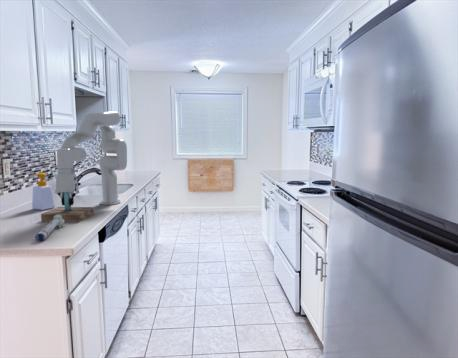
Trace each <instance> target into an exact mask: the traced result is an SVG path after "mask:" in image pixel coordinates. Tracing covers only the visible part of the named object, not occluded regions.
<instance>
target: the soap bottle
mask: <svg viewBox="0 0 458 358" xmlns="http://www.w3.org/2000/svg"><path fill="white" fill-rule="evenodd" d="M33 176H37V178H39V180H38V181H37V185H34V186H33V187H32V200H31V201H32V202H31V208H32V209H33V210H39V211H45V210H46V211H47V210H51V209H55V208H56V203H55V199H54V198H55V197H54V192H53V187H52V186H51V185H48V184H47V180H44V178H46V176H47V173H45V172H39V173H35V174H31V175H28V176H27V175H26V177H27V178H30V177H33Z"/></svg>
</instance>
